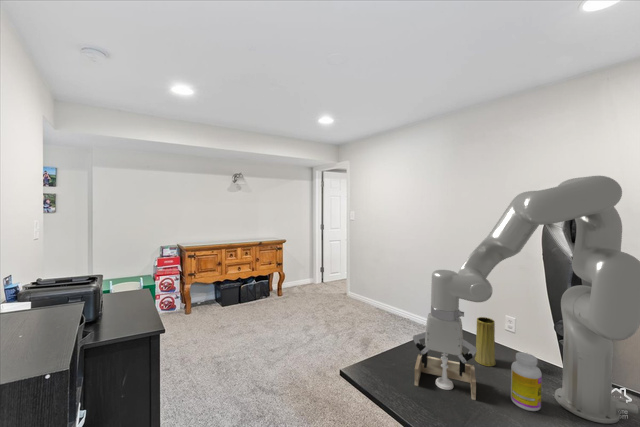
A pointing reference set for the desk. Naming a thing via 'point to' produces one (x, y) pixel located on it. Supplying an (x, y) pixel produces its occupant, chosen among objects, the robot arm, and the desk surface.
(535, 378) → the supplement bottle
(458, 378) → the open-side wooden frame
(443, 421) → the desk surface
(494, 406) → the desk surface
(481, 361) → the vase
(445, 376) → the chess piece
